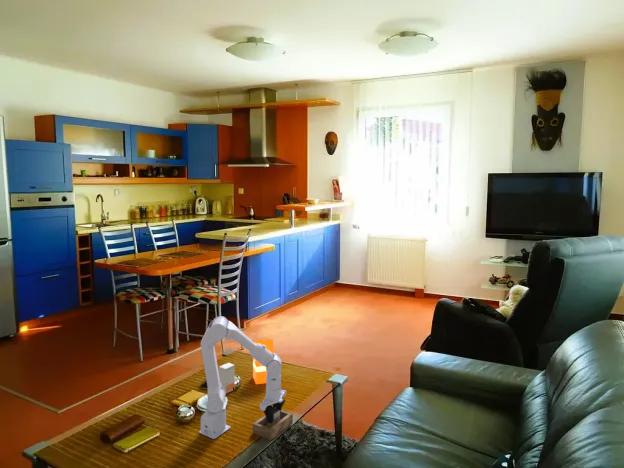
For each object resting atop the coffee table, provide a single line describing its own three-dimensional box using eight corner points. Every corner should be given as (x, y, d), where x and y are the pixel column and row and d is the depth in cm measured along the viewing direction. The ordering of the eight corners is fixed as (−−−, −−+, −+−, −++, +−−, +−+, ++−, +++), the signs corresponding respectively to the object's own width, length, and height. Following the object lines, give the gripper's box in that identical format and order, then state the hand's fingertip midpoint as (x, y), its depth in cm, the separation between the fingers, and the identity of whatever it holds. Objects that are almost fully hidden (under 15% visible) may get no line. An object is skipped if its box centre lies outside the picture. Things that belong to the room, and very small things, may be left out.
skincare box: (225, 394, 209) (224, 369, 207) (218, 391, 211) (218, 366, 210) (235, 389, 214) (235, 364, 212) (228, 386, 216) (228, 362, 214)
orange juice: (252, 377, 227) (253, 337, 224) (270, 375, 229) (271, 335, 226) (255, 384, 219) (256, 343, 216) (274, 382, 222) (274, 341, 219)
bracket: (273, 428, 180) (274, 411, 179) (265, 425, 182) (265, 408, 181) (279, 424, 184) (280, 406, 183) (271, 421, 186) (271, 404, 185)
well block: (270, 440, 175) (270, 430, 174) (252, 433, 179) (252, 423, 179) (292, 423, 187) (292, 413, 187) (275, 416, 192) (275, 407, 191)
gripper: (270, 397, 173) (270, 431, 175) (292, 382, 185) (292, 414, 187) (255, 392, 176) (255, 425, 178) (278, 377, 188) (277, 409, 190)
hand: (273, 419), depth 183 cm, fingers closed on bracket, 4 cm apart
